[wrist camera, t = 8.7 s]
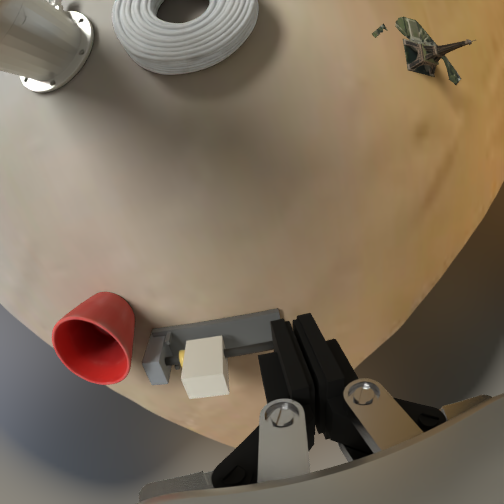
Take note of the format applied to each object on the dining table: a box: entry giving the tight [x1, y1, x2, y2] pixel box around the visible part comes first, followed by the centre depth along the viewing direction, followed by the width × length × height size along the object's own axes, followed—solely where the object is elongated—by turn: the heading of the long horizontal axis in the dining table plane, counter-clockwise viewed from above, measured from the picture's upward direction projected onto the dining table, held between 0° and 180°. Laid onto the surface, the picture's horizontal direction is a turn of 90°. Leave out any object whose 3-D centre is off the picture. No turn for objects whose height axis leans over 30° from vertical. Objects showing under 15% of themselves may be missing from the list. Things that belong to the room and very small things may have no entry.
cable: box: [112, 0, 259, 75], centre depth 25 cm, size 18×18×6 cm
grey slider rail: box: [142, 308, 280, 385], centre depth 39 cm, size 19×6×7 cm, turn 99°
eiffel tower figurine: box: [372, 17, 475, 85], centre depth 26 cm, size 15×10×13 cm
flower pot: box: [52, 292, 135, 385], centre depth 35 cm, size 11×11×10 cm
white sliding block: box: [181, 335, 229, 399], centre depth 36 cm, size 5×4×8 cm
